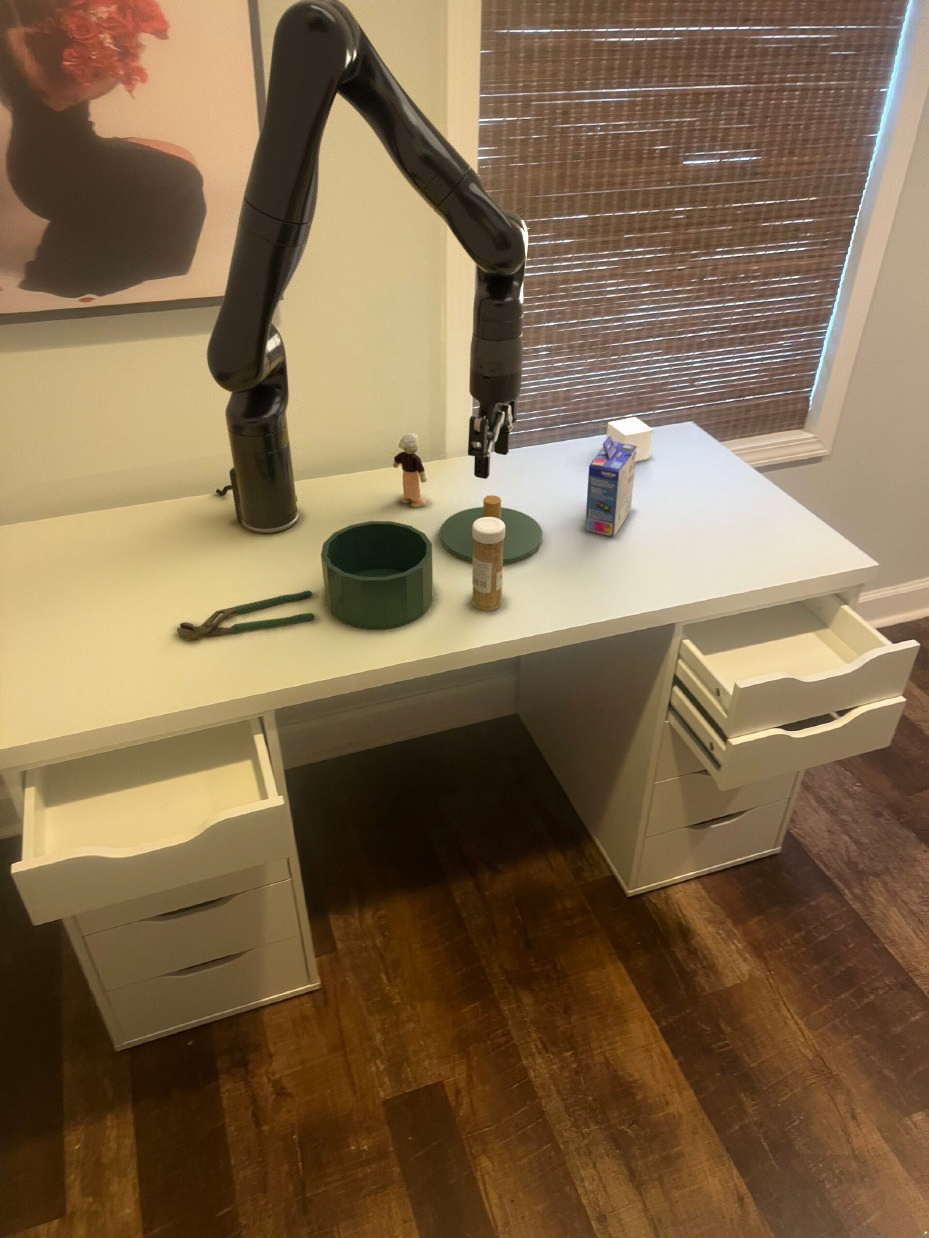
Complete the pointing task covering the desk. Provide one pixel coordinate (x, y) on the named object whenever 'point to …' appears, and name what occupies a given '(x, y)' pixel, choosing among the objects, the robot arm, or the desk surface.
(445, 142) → the robot arm
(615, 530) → the ink cartridge box
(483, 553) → the sprinkles bottle
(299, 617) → the pliers
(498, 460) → the desk surface
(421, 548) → the tin
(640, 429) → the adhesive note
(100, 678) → the desk surface
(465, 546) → the tin lid
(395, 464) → the grandmother figurine
